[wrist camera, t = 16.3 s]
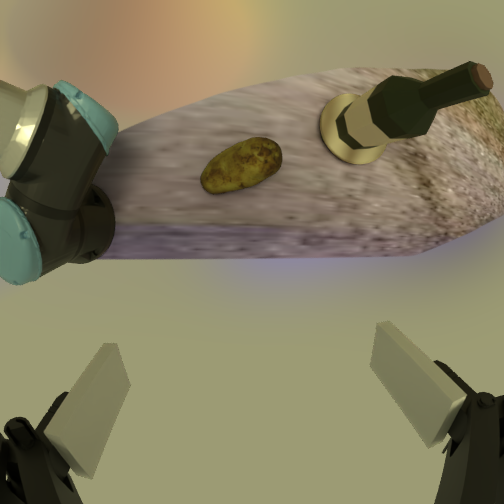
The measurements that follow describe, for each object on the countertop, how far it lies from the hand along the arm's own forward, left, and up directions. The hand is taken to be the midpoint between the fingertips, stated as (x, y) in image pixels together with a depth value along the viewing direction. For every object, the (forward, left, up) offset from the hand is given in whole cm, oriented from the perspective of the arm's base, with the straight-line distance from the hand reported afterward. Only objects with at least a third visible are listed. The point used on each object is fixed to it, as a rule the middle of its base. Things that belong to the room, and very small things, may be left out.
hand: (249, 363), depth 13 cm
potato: (-1, +12, -37) cm, 39 cm away
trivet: (+18, +22, -36) cm, 46 cm away
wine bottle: (+18, +22, -34) cm, 44 cm away
